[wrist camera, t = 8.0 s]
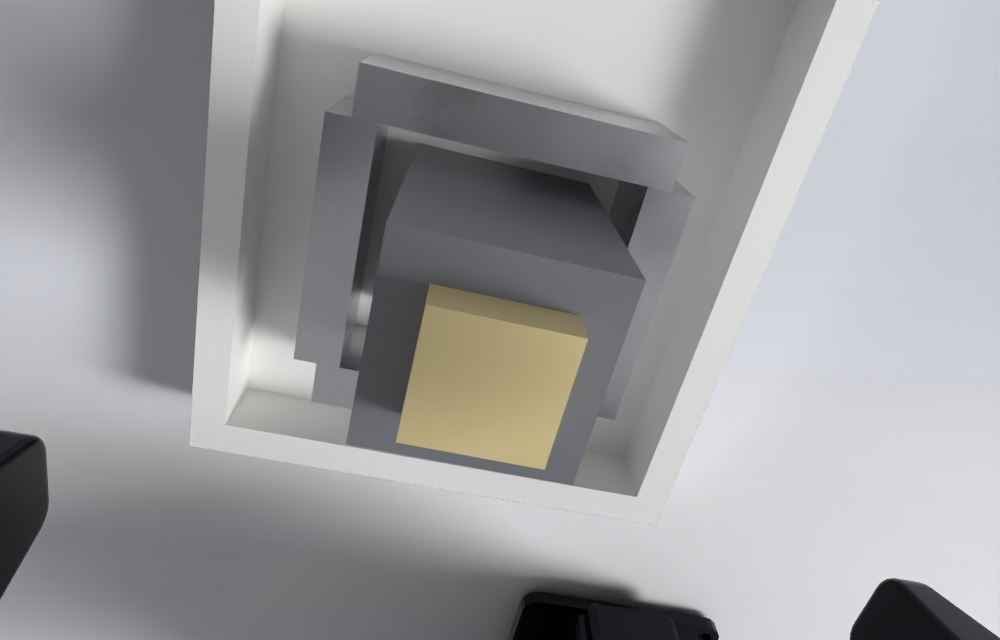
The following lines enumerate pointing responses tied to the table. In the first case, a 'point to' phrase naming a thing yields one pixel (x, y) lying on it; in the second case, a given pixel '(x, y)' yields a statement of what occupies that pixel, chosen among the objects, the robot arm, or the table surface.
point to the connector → (493, 318)
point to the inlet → (486, 124)
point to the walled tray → (538, 68)
